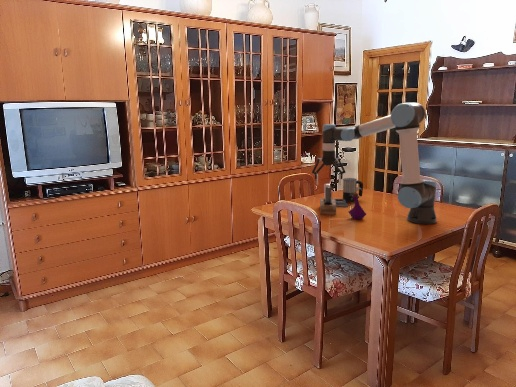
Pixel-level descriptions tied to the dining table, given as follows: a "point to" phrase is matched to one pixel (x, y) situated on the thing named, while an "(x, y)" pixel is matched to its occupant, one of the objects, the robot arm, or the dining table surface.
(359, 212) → the perfume bottle
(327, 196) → the black peg
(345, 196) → the milk frother
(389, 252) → the dining table surface
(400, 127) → the robot arm
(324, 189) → the steel peg
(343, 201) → the socket block
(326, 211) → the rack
